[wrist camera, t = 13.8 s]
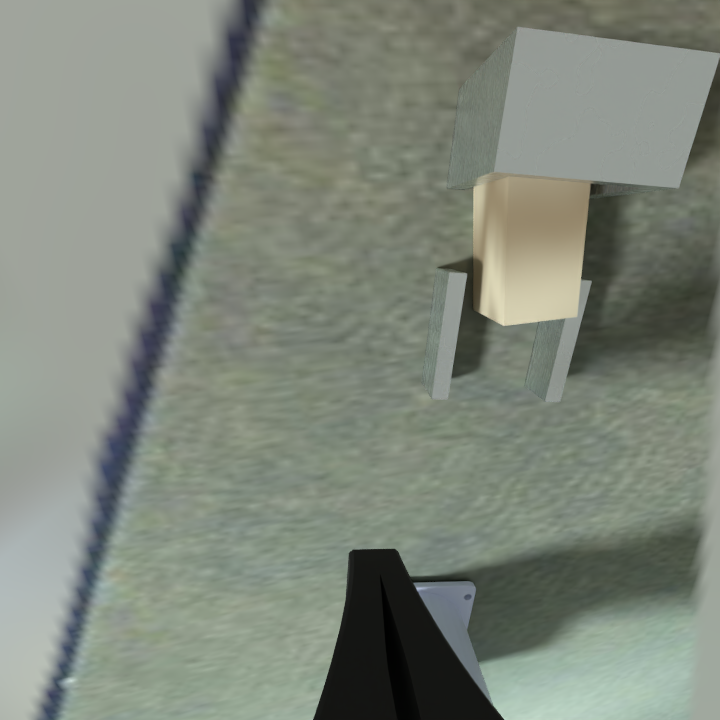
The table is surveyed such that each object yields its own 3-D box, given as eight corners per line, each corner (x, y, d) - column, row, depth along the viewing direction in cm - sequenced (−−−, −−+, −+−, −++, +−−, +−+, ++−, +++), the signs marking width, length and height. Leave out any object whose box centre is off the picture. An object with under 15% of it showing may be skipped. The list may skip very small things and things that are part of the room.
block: (583, 199, 17) (678, 188, 13) (446, 188, 17) (493, 171, 12) (605, 105, 16) (720, 53, 11) (459, 88, 15) (517, 26, 11)
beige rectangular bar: (532, 301, 19) (577, 317, 16) (471, 308, 19) (503, 325, 15) (542, 122, 16) (599, 94, 13) (472, 129, 16) (511, 102, 13)
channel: (538, 386, 20) (560, 402, 19) (421, 383, 20) (431, 399, 18) (565, 275, 18) (591, 280, 17) (436, 268, 18) (449, 272, 16)
